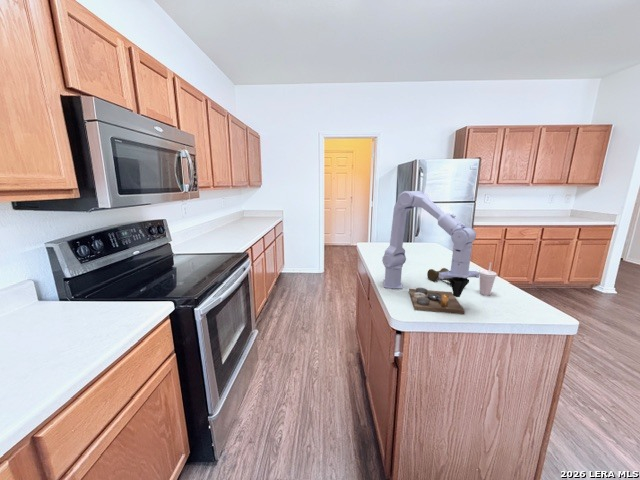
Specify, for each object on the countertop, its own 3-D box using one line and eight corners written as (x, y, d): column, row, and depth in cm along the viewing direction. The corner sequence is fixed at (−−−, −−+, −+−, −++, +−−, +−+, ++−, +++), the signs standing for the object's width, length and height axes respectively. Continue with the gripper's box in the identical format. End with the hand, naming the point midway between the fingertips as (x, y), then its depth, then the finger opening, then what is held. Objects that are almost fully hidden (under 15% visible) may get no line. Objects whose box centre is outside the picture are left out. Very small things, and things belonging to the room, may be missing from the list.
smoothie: (496, 297, 108) (501, 265, 105) (479, 296, 109) (483, 264, 106) (489, 291, 114) (494, 260, 111) (473, 290, 115) (477, 259, 112)
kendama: (453, 292, 114) (420, 276, 132) (469, 289, 118) (435, 274, 136) (455, 279, 113) (422, 265, 131) (471, 277, 117) (436, 263, 135)
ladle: (425, 295, 105) (425, 286, 104) (436, 295, 106) (437, 285, 105) (439, 307, 95) (440, 296, 94) (452, 306, 96) (453, 296, 95)
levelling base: (408, 292, 113) (409, 285, 113) (451, 295, 110) (451, 288, 109) (414, 309, 97) (415, 301, 96) (464, 314, 94) (465, 306, 93)
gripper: (448, 264, 89) (444, 301, 92) (487, 263, 91) (482, 299, 94) (437, 259, 96) (433, 293, 99) (473, 258, 98) (469, 292, 100)
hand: (456, 296), depth 97 cm, fingers closed
